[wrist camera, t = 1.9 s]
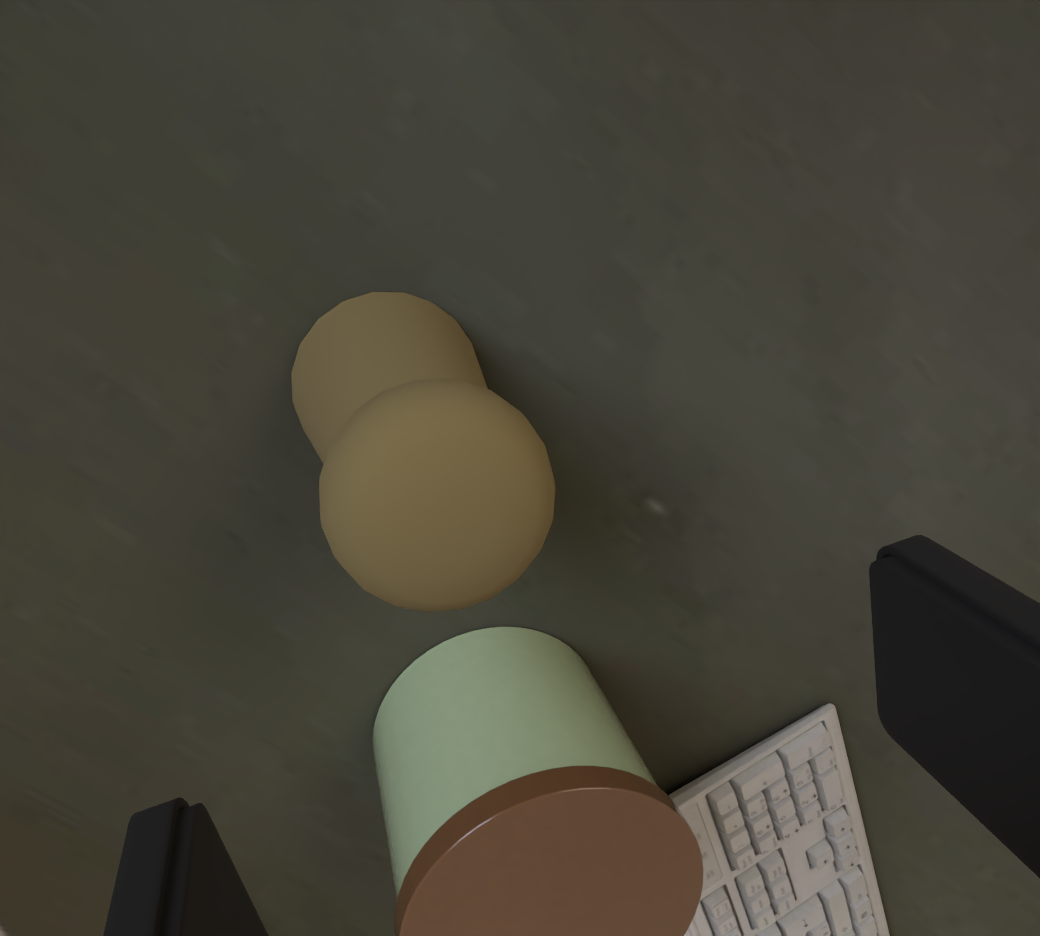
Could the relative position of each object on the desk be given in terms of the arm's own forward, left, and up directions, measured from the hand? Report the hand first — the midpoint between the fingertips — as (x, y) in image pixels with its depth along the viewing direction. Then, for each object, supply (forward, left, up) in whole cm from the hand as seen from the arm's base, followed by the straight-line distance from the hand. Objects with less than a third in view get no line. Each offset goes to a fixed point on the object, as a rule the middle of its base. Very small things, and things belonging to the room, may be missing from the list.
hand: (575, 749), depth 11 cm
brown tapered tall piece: (0, 0, -18) cm, 18 cm away
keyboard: (+36, -4, -18) cm, 40 cm away
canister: (+13, -6, -18) cm, 23 cm away
